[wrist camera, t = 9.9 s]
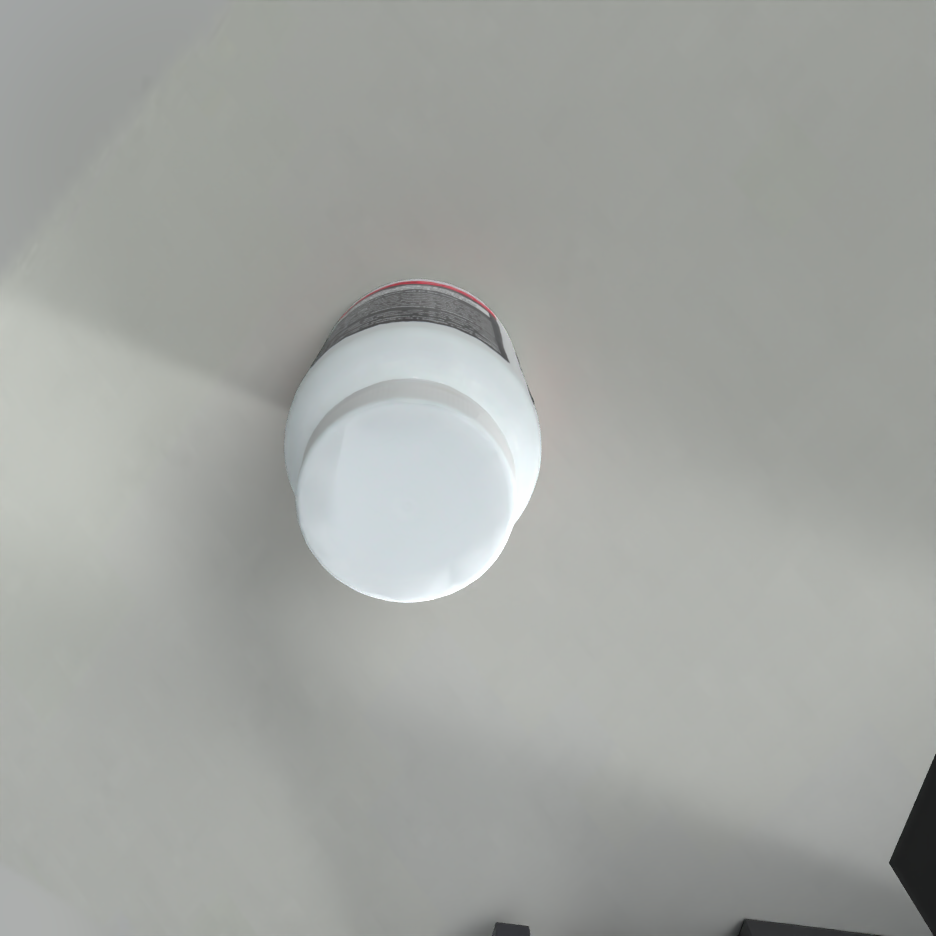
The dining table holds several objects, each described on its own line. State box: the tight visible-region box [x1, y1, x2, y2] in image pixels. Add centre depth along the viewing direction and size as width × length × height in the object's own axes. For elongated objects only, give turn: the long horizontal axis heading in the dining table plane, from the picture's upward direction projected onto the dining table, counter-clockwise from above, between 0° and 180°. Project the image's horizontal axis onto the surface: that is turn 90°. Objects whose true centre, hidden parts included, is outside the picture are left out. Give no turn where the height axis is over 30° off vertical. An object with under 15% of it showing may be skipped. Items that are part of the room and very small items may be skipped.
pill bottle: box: [284, 279, 541, 602], centre depth 20 cm, size 5×5×10 cm
